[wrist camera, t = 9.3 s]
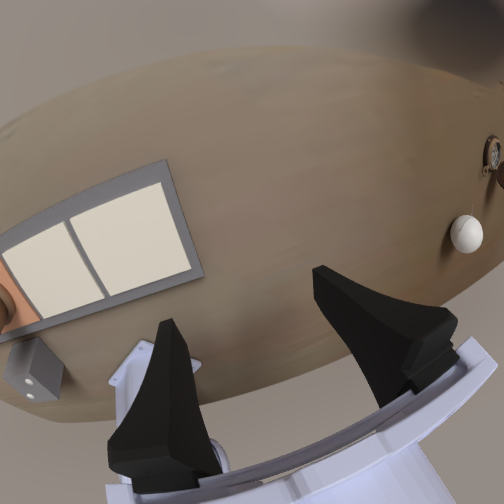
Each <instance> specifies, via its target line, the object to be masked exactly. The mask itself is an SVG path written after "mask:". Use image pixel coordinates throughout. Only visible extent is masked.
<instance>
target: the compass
mask: <svg viewBox="0 0 504 504" xmlns="http://www.w3.org/2000/svg"><path fill="white" fill-rule="evenodd" d="M500 159H501V144H500V142H499V139H498V138H497V137H496V136H494V135H491V136H490V137H489V138H488V140H487V142H486V145H485V150H484V164H485V167H484V170H485V169H486V170H487V173H488V170H489V171H491V172H492V171H493V170H494V169H496V171H497V180H498V182H499V184H500V186H501V187H502V188H503V189H504V161H503V162H501V163H500V164H499V162H500ZM484 170H483V176H484ZM487 173H486V175H487ZM486 175H485V176H484V177H486Z"/></svg>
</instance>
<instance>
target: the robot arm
mask: <svg viewBox="0 0 504 504" xmlns="http://www.w3.org/2000/svg"><path fill="white" fill-rule="evenodd" d="M312 272H313V289H314V299H315V301H316V303H317V305H318V306H319V308H320V310H321V311H322V313H323V315H324V316H325V317H326V319H327V320H328V321H329V323H330V324H331V325H332V327H333V328H334V329H335V330H336V332H337V333H338V334H339V336H340V337H341V338H342V340H343V341H344V342H345V343H346V345H347V346H348V348H349V349H350V351H351V353H352V354H353V356H354V357H355V359H356V361H357V363H358V365H359V366H360V368H361V370H362V372H363V374H364V376H365V377H366V380H367V381H368V384H369V386H370V387H371V390H372V392H373V394H374V396H375V398H376V401H377V403H378V405H379V408H380V409H379V410H378V411H376V412H374V413H372V414H371V415H369V416H367V417H366V418H364V419H362V420H360V421H358V422H356V423H355V424H353V425H351V426H349V427H347V428H345V429H343V430H341V431H339V432H337V433H335V434H333V435H331V436H329V437H327V438H324V439H323V440H320V441H318V442H315V443H313V444H311V445H308V446H306V447H304V448H301V449H299V450H296V451H294V452H291V453H288V454H286V455H283V456H280V457H278V458H275V459H272V460H269V461H266V462H263V463H260V464H256V465H253V466H250V467H246V468H243V469H239V470H236V471H232V472H231V471H230V464H229V460H228V457H227V454H226V452H225V451H224V449H223V447H222V446H221V445H220V444H219V443H218V442H217V441H216V440H214V439H211V438H209V436H208V433H207V430H206V427H205V424H204V421H203V418H202V415H201V412H200V408H199V404H198V399H197V394H196V388H195V381H194V375H193V373H194V372H195V371H196V370H198V369H199V368H200V367H201V365H202V364H201V362H200V361H198V360H195V359H192V358H190V355H189V351H188V347H187V344H186V342H185V340H184V339H183V337H182V335H181V333H180V332H179V330H178V328H177V326H176V325H175V323H174V321H173V319H172V318H171V319H168V320H165V321H161V322H160V323H159V327H158V331H157V336H156V340H155V344H152V343H149V342H147V341H144V340H143V341H140V342H139V343H138V344H137V345H136V347H135V348H134V349H133V350H132V352H131V353H130V354H129V355H128V357H127V358H126V359H125V360H124V362H123V363H122V364H121V365H120V367H119V368H118V369H117V370H116V372H115V373H114V374H113V375H112V377H111V378H110V379H109V384H110V385H113V386H115V387H116V424H117V430H116V431H115V432H114V434H113V435H112V436H111V438H110V439H109V440H108V446H107V450H108V462H109V468H110V469H111V470H112V471H114V472H116V473H118V474H119V480H120V484H106V485H105V488H106V495H107V501H108V504H456V503H455V501H454V499H453V498H452V496H451V495H450V493H449V492H448V490H447V488H446V487H445V485H444V484H443V482H442V480H441V479H440V477H439V476H438V474H437V473H436V471H435V470H434V468H433V467H432V465H431V464H430V462H429V460H428V459H427V457H426V456H425V454H424V453H423V451H422V450H421V448H420V447H419V445H418V444H417V442H419V441H420V440H422V439H423V438H424V437H426V436H427V435H428V434H429V433H431V432H432V431H433V430H434V429H436V428H437V427H438V426H439V425H440V424H442V423H443V422H444V421H445V420H446V419H447V418H449V417H450V416H451V415H452V414H453V413H454V412H455V411H456V410H458V409H459V407H461V406H462V405H463V404H464V403H465V402H466V401H467V400H468V399H469V398H470V397H471V396H472V395H473V394H474V393H475V392H476V391H477V390H478V389H479V388H480V387H481V386H482V385H483V383H484V382H485V381H486V380H487V379H488V378H489V376H490V375H491V374H492V373H493V372H494V370H495V369H496V368H497V367H498V364H497V363H496V362H495V361H494V360H493V359H492V358H491V357H490V356H489V354H488V353H487V352H486V351H485V350H484V349H483V348H482V347H481V346H480V345H479V344H478V342H477V341H476V340H475V339H474V338H473V337H472V336H470V337H469V338H468V339H467V340H466V341H465V342H464V343H462V344H461V345H460V346H459V347H458V348H457V349H456V350H455V351H454V350H453V349H452V347H453V343H452V342H451V341H450V339H451V337H452V335H453V333H454V331H455V329H456V327H457V323H458V319H457V318H456V317H455V316H454V315H453V314H452V313H451V312H450V311H449V310H448V309H447V308H444V307H433V306H425V305H420V304H414V303H410V302H406V301H402V300H398V299H395V298H392V297H389V296H386V295H383V294H380V293H378V292H375V291H373V290H371V289H369V288H366V287H364V286H362V285H360V284H358V283H356V282H354V281H352V280H350V279H348V278H346V277H344V276H343V275H341V274H339V273H337V272H335V271H333V270H332V269H330V268H328V267H326V266H324V265H321V266H319V267H316V268H313V269H312ZM141 347H142V348H141ZM375 429H376V432H375V433H372V434H370V435H368V436H366V437H365V438H363V439H361V440H359V441H357V442H355V443H353V444H351V445H349V446H347V447H346V448H344V449H342V450H339V451H338V452H335V453H333V454H331V455H329V456H327V457H325V458H323V459H320V460H318V461H316V462H313V463H311V464H309V465H307V466H304V467H302V468H300V469H298V470H296V471H294V472H293V473H290V474H288V475H285V476H283V477H280V478H278V479H276V480H273V481H270V482H267V483H265V484H263V482H262V481H259V480H262V479H265V478H268V477H271V476H274V475H277V474H280V473H283V472H286V471H289V470H291V469H294V468H297V467H299V466H302V465H304V464H306V463H309V462H311V461H313V460H316V459H318V458H321V457H323V456H325V455H327V454H330V453H332V452H334V451H336V450H338V449H340V448H342V447H344V446H346V445H348V444H350V443H352V442H354V441H355V440H357V439H359V438H361V437H363V436H365V435H366V434H368V433H370V432H372V431H373V430H375ZM255 481H257V482H255Z"/></svg>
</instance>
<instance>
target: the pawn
mask: <svg viewBox="0 0 504 504" xmlns="http://www.w3.org/2000/svg"><path fill="white" fill-rule="evenodd" d="M15 311H16V307H15V302H14V300H13V297H12V296H11V294H10V293H9V291H8V290H7V289H6V288H5V287H4V286H3V285H2V284H1V283H0V335H1V332H2V330H3V328H4V326H6V325H8V324H10V323H11V321H12V319H13V316H14V314H15Z"/></svg>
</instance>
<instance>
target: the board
mask: <svg viewBox="0 0 504 504" xmlns="http://www.w3.org/2000/svg"><path fill="white" fill-rule="evenodd" d="M203 276H204V272H203V269H202V266H201V263H200V260H199V258H198V255H197V252H196V249H195V246H194V243H193V241H192V238H191V235H190V232H189V229H188V226H187V223H186V220H185V217H184V214H183V211H182V208H181V205H180V202H179V199H178V196H177V192H176V189H175V186H174V183H173V180H172V177H171V173H170V170H169V167H168V163H167V160H166V159H163V160H161V161H158V162H155V163H152V164H149V165H146V166H143V167H141V168H138V169H135V170H133V171H130V172H127V173H125V174H122V175H120V176H117V177H115V178H112V179H110V180H107V181H105V182H103V183H100V184H98V185H96V186H93V187H91V188H89V189H87V190H84V191H82V192H80V193H78V194H76V195H74V196H71V197H69V198H67V199H65V200H63V201H61V202H59V203H57V204H55V205H53V206H51V207H49V208H47V209H45V210H43V211H41V212H40V213H38V214H36V215H34V216H32V217H30V218H29V219H27V220H25V221H23V222H21V223H20V224H18V225H16V226H15V227H13V228H11V229H9V230H8V231H6V232H5V233H3V234H1V235H0V283H1V284H2V285H3V286H4V287H5V288H6V289H7V290H8V291H9V293H10V294H11V296H12V297H13V300H14V302H15V307H16V311H15V314H14V316H13V319H12V321H11V323H10V324H8V325H6V326H4V328H3V330H2V332H1V335H0V343H1V342H5V341H8V340H11V339H14V338H17V337H20V336H23V335H27V334H30V333H33V332H36V331H39V330H42V329H45V328H48V327H52V326H55V325H58V324H61V323H64V322H67V321H70V320H73V319H76V318H79V317H82V316H85V315H89V314H92V313H95V312H98V311H101V310H104V309H107V308H110V307H113V306H116V305H119V304H122V303H125V302H128V301H131V300H134V299H137V298H140V297H143V296H146V295H149V294H152V293H155V292H158V291H161V290H164V289H167V288H170V287H173V286H176V285H179V284H182V283H185V282H188V281H191V280H194V279H197V278H200V277H203Z"/></svg>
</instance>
